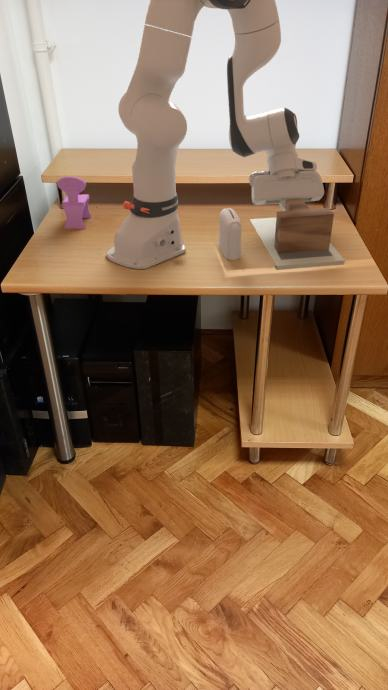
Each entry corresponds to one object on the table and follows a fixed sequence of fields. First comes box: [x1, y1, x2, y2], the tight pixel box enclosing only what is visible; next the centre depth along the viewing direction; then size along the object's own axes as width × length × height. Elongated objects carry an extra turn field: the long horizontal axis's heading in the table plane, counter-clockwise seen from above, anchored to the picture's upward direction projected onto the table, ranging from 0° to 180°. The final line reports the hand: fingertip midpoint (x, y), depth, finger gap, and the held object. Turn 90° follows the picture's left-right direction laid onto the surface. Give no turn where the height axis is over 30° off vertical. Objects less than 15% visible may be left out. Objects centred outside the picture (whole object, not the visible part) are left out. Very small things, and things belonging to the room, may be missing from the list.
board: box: [249, 216, 345, 271], centre depth 160 cm, size 30×18×1 cm, turn 9°
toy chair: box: [56, 175, 92, 230], centre depth 169 cm, size 8×9×15 cm
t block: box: [274, 198, 335, 253], centre depth 155 cm, size 12×14×10 cm
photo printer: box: [218, 207, 242, 261], centre depth 151 cm, size 10×4×12 cm, turn 11°
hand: (291, 216), depth 160 cm, fingers closed
